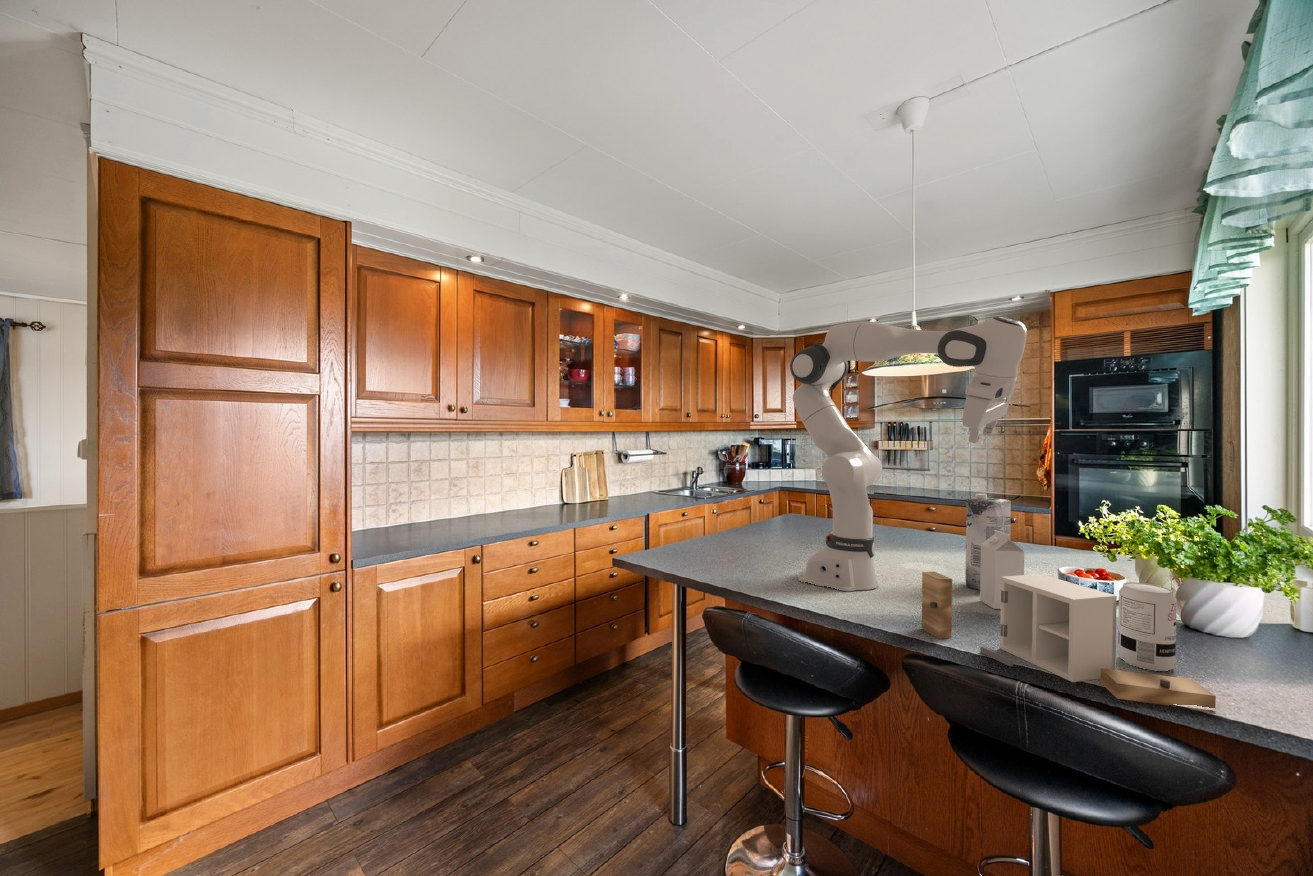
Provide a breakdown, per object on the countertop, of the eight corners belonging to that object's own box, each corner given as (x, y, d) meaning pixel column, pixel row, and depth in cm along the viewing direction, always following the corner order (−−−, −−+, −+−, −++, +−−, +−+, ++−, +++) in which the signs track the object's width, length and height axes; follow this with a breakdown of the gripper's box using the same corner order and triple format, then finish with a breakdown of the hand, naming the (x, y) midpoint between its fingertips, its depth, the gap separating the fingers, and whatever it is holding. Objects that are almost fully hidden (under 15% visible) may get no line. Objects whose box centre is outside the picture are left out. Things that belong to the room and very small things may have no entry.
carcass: (1048, 685, 95) (1049, 601, 95) (977, 650, 110) (978, 578, 109) (1115, 676, 98) (1116, 595, 98) (1037, 643, 113) (1038, 573, 113)
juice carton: (1013, 589, 152) (1015, 495, 151) (991, 595, 147) (993, 497, 146) (982, 581, 160) (983, 491, 159) (960, 586, 155) (961, 493, 154)
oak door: (934, 638, 116) (935, 579, 116) (917, 628, 122) (918, 572, 122) (951, 638, 116) (952, 578, 116) (933, 627, 122) (934, 571, 122)
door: (1117, 700, 90) (1117, 677, 90) (1100, 684, 96) (1100, 662, 96) (1215, 714, 86) (1215, 689, 86) (1191, 696, 92) (1192, 673, 92)
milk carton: (1007, 601, 141) (1009, 530, 141) (1023, 610, 134) (1024, 535, 134) (979, 600, 142) (980, 529, 142) (993, 609, 135) (995, 535, 134)
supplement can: (1110, 652, 109) (1111, 579, 109) (1162, 659, 106) (1163, 584, 106) (1128, 669, 101) (1130, 590, 101) (1184, 676, 98) (1186, 596, 98)
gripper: (994, 377, 140) (982, 427, 144) (963, 388, 127) (950, 442, 132) (1022, 382, 135) (1008, 433, 140) (992, 394, 123) (978, 450, 127)
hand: (980, 438), depth 136 cm, fingers open, 8 cm apart
